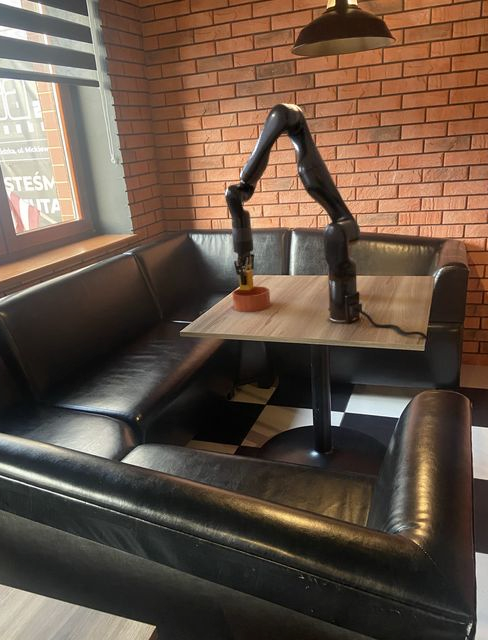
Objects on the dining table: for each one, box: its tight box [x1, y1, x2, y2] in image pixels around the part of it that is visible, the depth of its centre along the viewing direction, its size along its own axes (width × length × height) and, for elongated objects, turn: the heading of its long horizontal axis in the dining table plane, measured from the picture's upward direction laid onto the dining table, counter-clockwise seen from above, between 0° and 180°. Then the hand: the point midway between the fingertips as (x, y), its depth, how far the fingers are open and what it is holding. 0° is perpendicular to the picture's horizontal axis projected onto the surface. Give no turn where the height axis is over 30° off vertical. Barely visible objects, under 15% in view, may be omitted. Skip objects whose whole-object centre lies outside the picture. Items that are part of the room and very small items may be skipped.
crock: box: [232, 285, 271, 313], centre depth 208 cm, size 14×14×6 cm
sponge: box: [238, 269, 255, 290], centre depth 207 cm, size 4×4×7 cm
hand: (246, 283), depth 207 cm, fingers closed on sponge, 4 cm apart
